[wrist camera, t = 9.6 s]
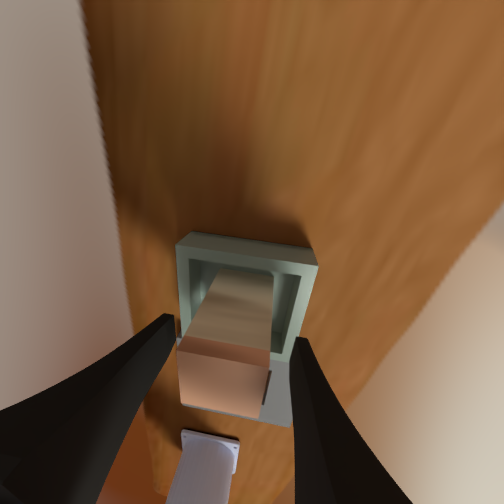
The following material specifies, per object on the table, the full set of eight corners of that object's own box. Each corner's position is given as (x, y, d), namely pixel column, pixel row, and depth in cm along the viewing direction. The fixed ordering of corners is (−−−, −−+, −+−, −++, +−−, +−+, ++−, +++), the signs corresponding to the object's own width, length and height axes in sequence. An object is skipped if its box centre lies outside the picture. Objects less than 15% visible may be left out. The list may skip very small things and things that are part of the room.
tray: (289, 336, 17) (290, 363, 15) (194, 319, 18) (182, 342, 16) (312, 248, 14) (318, 266, 11) (191, 230, 14) (175, 244, 12)
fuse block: (266, 317, 16) (258, 419, 10) (218, 309, 16) (181, 402, 10) (274, 276, 14) (269, 367, 8) (220, 268, 15) (175, 350, 8)
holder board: (289, 414, 23) (289, 427, 21) (187, 393, 23) (182, 405, 22) (311, 350, 18) (313, 362, 17) (182, 327, 19) (176, 337, 18)
